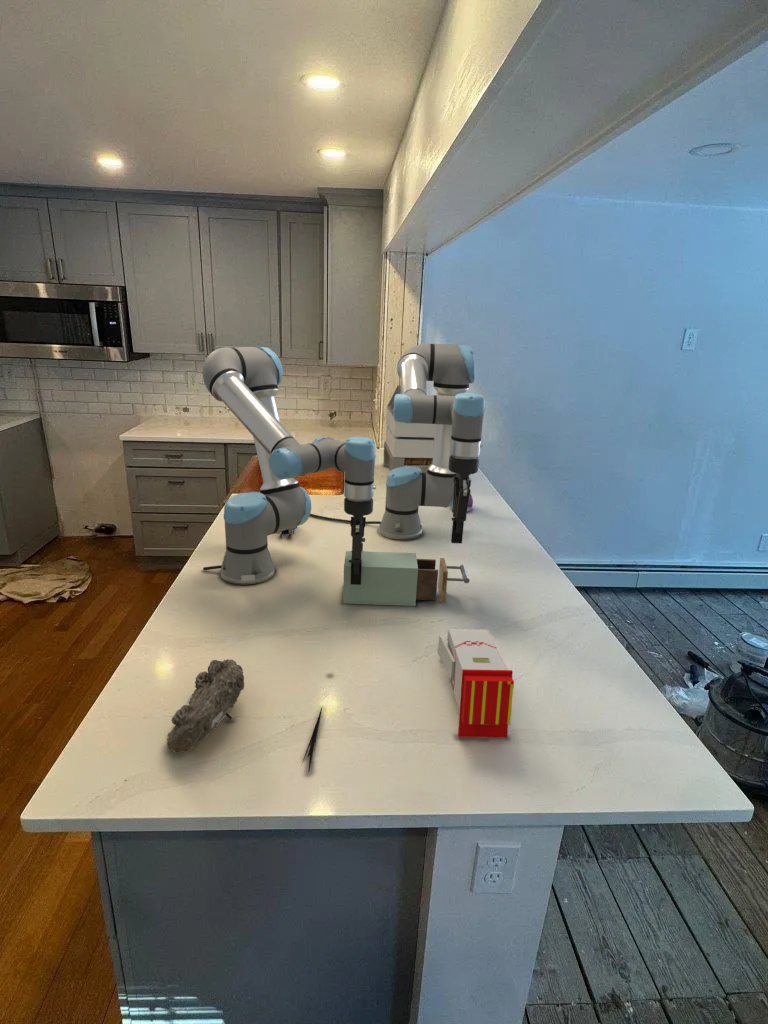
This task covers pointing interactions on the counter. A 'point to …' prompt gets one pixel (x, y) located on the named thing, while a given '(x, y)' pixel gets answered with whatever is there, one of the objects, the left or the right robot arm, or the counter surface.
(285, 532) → the figurine character
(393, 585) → the cabinet
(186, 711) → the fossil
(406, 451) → the white slatted crate
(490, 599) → the counter surface
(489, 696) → the toy
